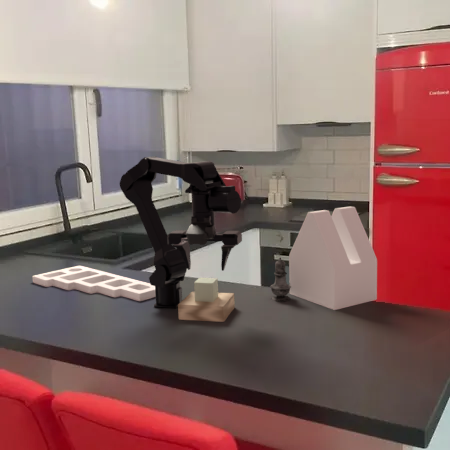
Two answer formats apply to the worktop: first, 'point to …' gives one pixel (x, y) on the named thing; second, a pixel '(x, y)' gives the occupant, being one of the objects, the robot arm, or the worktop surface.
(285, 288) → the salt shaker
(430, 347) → the worktop surface
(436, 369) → the worktop surface
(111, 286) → the holder
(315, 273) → the milk carton
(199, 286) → the sage cube
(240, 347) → the worktop surface
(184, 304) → the oak riser block
